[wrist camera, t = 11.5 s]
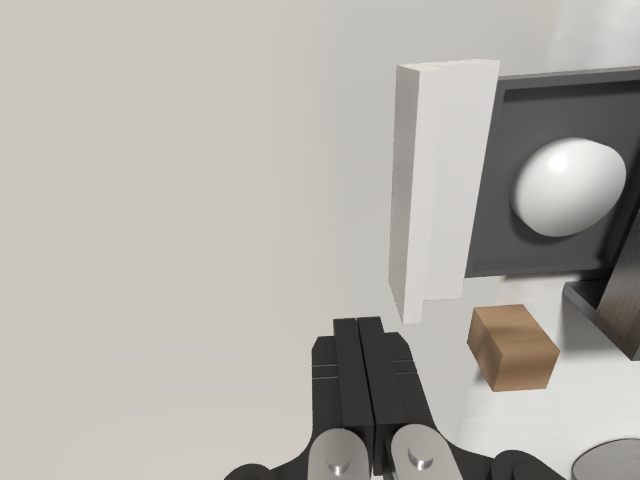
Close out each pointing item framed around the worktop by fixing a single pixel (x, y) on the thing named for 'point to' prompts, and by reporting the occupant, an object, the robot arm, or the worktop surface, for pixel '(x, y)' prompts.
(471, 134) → the tray
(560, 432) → the worktop surface
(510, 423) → the worktop surface
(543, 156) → the white rounded flat dome
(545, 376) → the wooden block
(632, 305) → the housing
